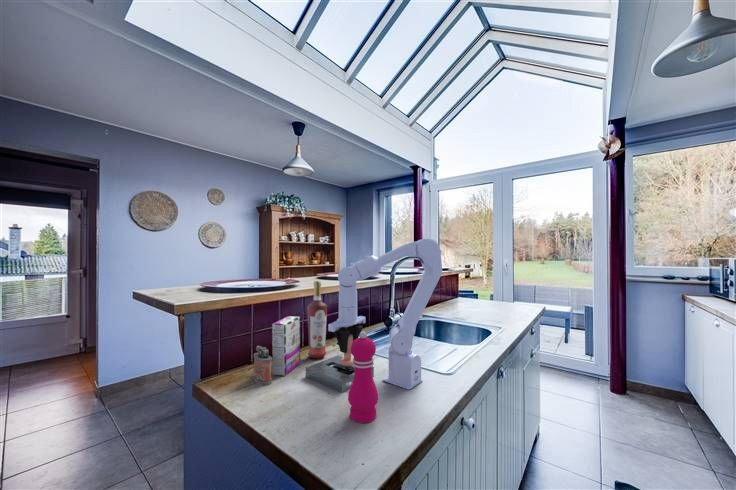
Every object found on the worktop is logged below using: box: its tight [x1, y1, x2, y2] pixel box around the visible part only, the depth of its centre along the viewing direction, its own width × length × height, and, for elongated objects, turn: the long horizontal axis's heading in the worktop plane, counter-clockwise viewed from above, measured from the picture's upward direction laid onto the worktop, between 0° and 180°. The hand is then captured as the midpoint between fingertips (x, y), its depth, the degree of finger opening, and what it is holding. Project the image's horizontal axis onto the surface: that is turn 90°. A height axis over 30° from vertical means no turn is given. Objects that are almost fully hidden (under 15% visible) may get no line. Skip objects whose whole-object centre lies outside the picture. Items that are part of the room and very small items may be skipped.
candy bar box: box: [271, 315, 301, 377], centre depth 99 cm, size 11×5×16 cm, turn 168°
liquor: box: [307, 280, 328, 360], centre depth 111 cm, size 7×7×28 cm
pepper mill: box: [347, 330, 379, 424], centre depth 71 cm, size 7×7×20 cm
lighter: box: [252, 345, 273, 387], centre depth 90 cm, size 8×3×10 cm, turn 47°
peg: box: [340, 334, 354, 366], centre depth 91 cm, size 4×4×9 cm
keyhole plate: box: [305, 355, 375, 393], centre depth 93 cm, size 16×14×3 cm
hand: (347, 350), depth 91 cm, fingers closed on peg, 3 cm apart
